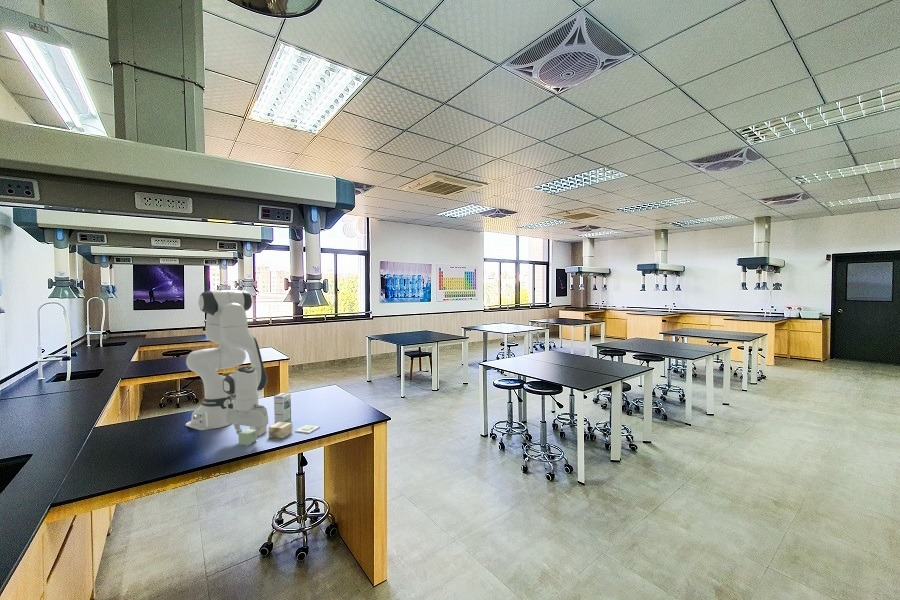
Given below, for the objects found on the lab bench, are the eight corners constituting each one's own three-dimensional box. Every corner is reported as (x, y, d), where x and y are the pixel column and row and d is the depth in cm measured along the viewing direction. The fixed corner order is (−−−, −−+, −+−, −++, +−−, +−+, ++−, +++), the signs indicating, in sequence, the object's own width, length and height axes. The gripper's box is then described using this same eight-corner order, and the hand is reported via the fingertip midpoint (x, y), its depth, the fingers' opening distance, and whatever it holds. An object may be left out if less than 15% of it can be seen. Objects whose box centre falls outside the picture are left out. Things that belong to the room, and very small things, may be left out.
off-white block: (249, 434, 170) (249, 424, 170) (258, 430, 174) (258, 420, 174) (258, 435, 168) (258, 425, 168) (266, 431, 173) (266, 421, 173)
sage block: (238, 444, 159) (238, 433, 159) (247, 439, 164) (247, 428, 164) (247, 445, 158) (247, 434, 157) (256, 441, 162) (256, 430, 162)
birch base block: (268, 437, 166) (268, 426, 166) (279, 431, 173) (279, 421, 173) (282, 439, 165) (281, 428, 165) (291, 433, 172) (291, 422, 172)
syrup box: (284, 424, 182) (283, 396, 182) (274, 423, 183) (273, 395, 183) (291, 420, 188) (291, 393, 187) (281, 420, 189) (281, 392, 189)
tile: (295, 431, 173) (295, 430, 173) (306, 425, 180) (306, 424, 180) (309, 433, 170) (309, 431, 170) (319, 427, 178) (319, 425, 178)
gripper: (271, 403, 160) (272, 434, 160) (235, 400, 166) (235, 430, 166) (260, 407, 154) (261, 440, 154) (223, 404, 160) (223, 435, 160)
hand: (247, 434), depth 160 cm, fingers open, 8 cm apart
